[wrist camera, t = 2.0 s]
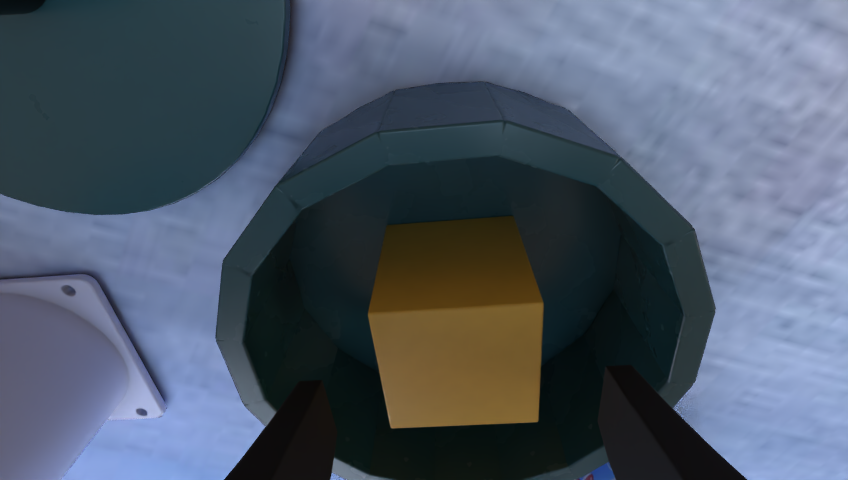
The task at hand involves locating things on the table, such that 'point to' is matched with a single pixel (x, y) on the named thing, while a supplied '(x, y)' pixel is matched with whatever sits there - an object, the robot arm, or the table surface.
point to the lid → (132, 97)
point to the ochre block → (457, 324)
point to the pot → (455, 200)
